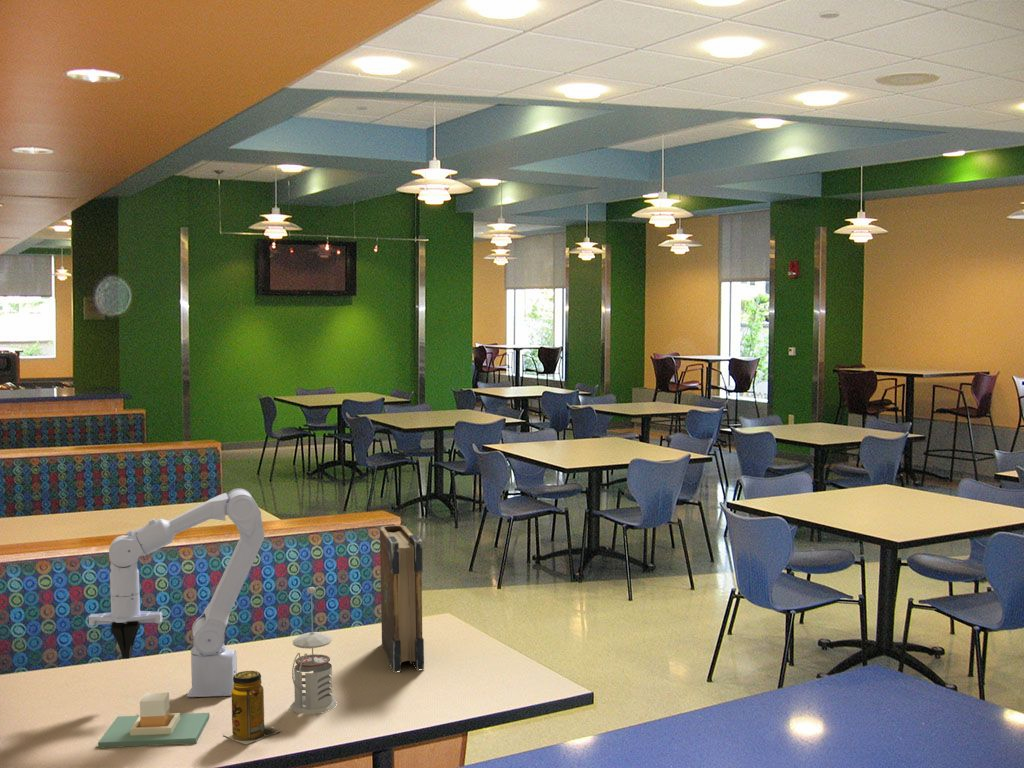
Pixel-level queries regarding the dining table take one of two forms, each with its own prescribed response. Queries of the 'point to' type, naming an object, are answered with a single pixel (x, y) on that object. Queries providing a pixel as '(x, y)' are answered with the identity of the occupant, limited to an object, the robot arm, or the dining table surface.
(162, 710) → the brick stack
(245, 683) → the condiment
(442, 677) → the dining table surface
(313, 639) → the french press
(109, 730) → the base plate
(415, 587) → the decorative book
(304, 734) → the dining table surface
